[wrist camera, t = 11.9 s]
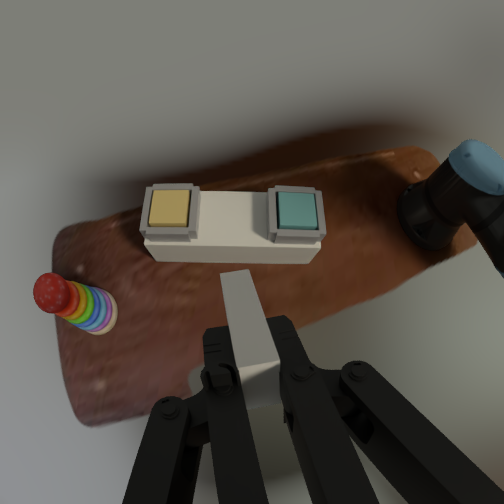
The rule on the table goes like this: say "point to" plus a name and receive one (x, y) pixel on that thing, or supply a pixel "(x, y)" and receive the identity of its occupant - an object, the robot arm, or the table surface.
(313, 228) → the teal button
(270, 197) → the button console
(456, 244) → the table surface
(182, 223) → the mustard button
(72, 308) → the stacking toy
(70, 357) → the table surface
